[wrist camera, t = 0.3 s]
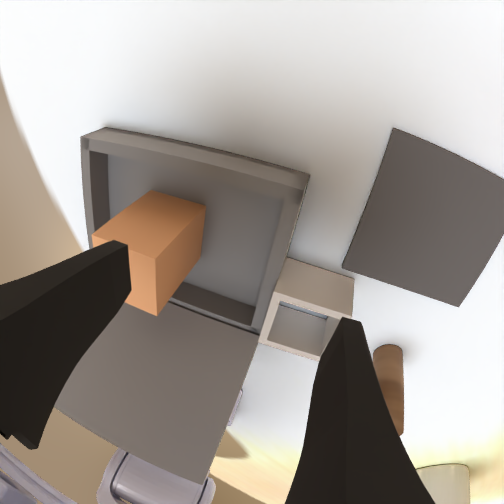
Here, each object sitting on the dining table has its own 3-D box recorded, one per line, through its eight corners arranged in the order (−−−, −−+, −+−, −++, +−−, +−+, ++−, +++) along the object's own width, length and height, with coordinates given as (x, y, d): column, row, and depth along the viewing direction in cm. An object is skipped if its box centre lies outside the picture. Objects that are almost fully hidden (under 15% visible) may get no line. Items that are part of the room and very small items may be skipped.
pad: (457, 304, 18) (458, 307, 18) (341, 265, 19) (341, 268, 19) (521, 190, 13) (523, 192, 13) (393, 127, 14) (394, 128, 14)
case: (307, 368, 26) (269, 507, 15) (116, 296, 28) (35, 395, 18) (388, 201, 16) (417, 410, 6) (105, 127, 19) (-56, 208, 9)
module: (200, 257, 21) (156, 316, 17) (150, 240, 22) (100, 290, 17) (206, 205, 19) (155, 258, 14) (150, 190, 20) (91, 234, 15)
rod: (393, 366, 23) (391, 441, 17) (367, 359, 23) (361, 436, 17) (407, 348, 21) (410, 427, 16) (381, 341, 22) (378, 422, 16)
